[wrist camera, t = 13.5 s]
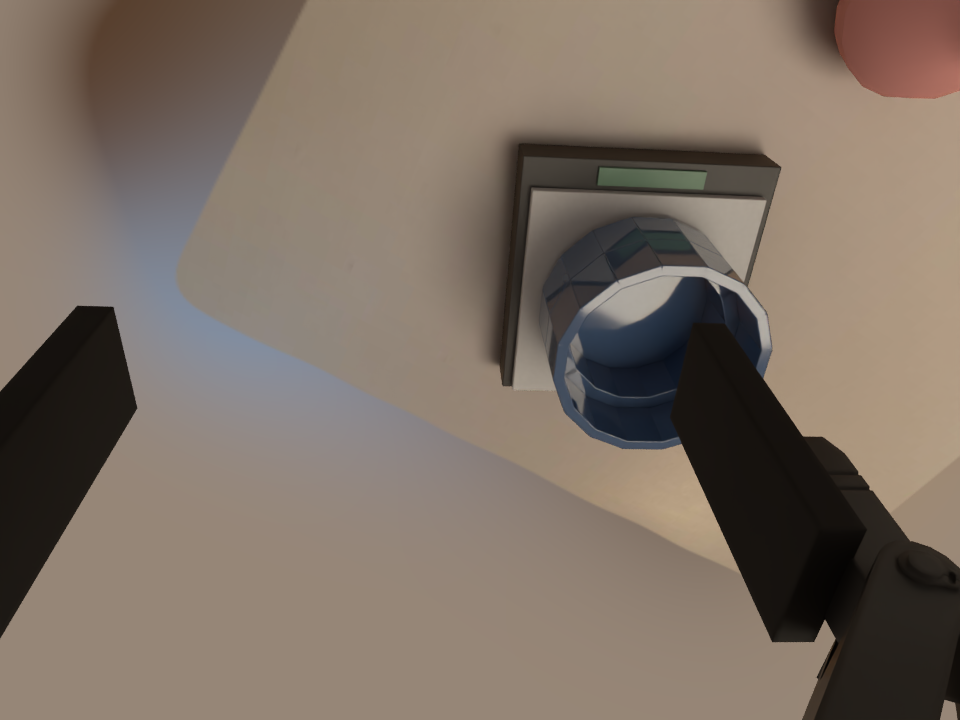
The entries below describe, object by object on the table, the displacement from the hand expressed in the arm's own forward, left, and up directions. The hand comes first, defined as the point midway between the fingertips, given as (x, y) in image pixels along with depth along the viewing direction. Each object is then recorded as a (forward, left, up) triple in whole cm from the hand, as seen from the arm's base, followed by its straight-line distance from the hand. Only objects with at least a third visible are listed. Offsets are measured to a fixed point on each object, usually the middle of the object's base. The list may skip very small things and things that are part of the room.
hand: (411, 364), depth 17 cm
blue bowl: (+10, +13, -24) cm, 29 cm away
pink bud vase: (-6, +24, -27) cm, 37 cm away
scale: (+10, +13, -27) cm, 31 cm away
